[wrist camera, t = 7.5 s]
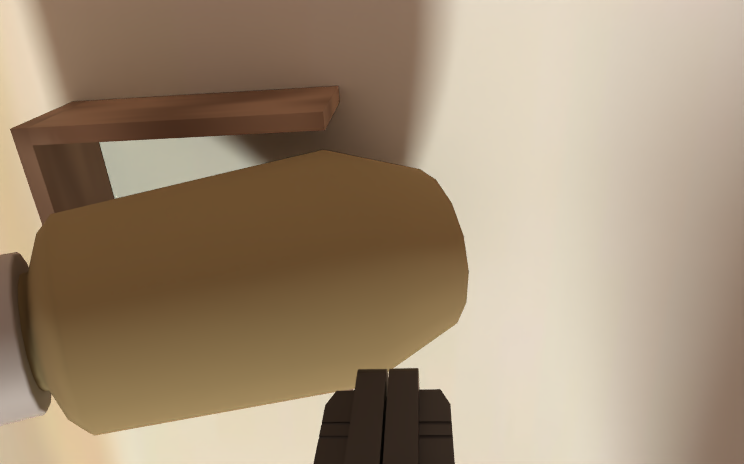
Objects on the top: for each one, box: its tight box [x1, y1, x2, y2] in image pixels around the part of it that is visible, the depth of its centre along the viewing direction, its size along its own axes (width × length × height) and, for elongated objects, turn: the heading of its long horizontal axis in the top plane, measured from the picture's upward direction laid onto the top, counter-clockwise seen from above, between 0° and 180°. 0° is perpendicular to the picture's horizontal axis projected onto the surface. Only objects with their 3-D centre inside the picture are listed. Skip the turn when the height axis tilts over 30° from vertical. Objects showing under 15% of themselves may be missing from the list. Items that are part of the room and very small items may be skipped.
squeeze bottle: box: [0, 150, 469, 435], centre depth 18 cm, size 8×8×18 cm
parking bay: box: [10, 86, 353, 391], centre depth 24 cm, size 11×11×4 cm
